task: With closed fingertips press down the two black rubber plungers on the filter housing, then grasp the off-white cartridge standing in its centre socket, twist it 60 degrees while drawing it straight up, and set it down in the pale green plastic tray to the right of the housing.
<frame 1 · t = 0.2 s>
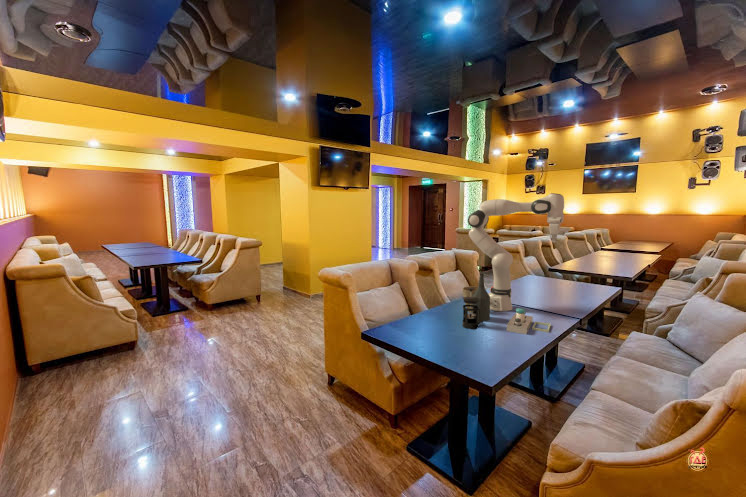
hand: (554, 241, 201), 47 cm above the table, fingers open, 8 cm apart
filter housing: (520, 328, 184), on the table
plunger far: (522, 314, 190), point 6 cm above the table, slide at 0.0 cm
tray: (541, 330, 182), on the table
bottle: (480, 320, 200), on the table
cartridge: (520, 326, 184), point 1 cm above the table, touching filter housing
plant pot: (473, 312, 217), on the table
french press: (471, 326, 190), on the table
plunger near: (517, 322, 177), point 6 cm above the table, slide at 0.0 cm
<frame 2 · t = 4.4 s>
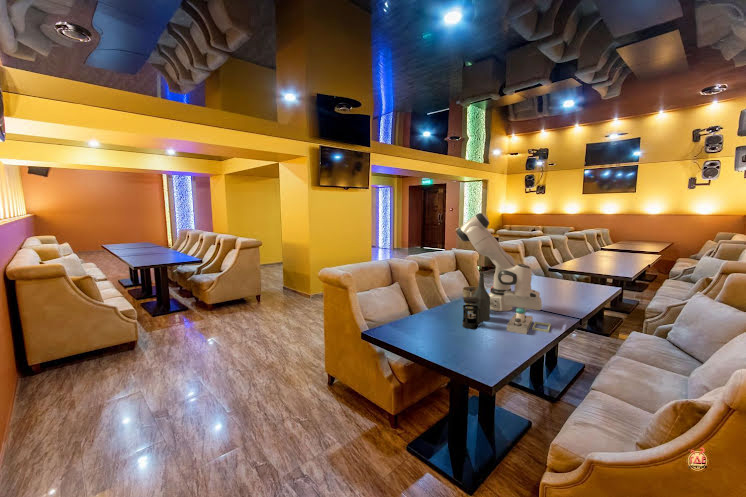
hand: (522, 314, 190), 6 cm above the table, fingers closed, pressing on plunger far
plunger far: (522, 317, 190), point 4 cm above the table, slide at 1.9 cm, touching gripper
everything else where it was.
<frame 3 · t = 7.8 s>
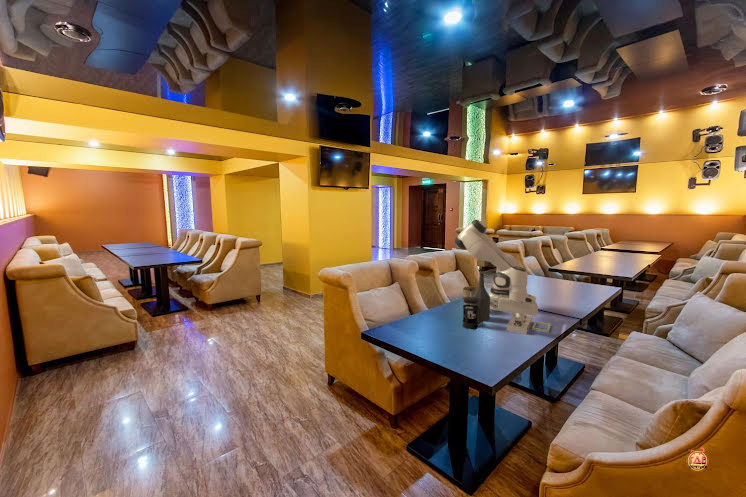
hand: (517, 320, 177), 7 cm above the table, fingers closed, pressing on plunger near
plunger far: (522, 318, 190), point 4 cm above the table, slide at 2.1 cm
plunger near: (517, 324, 178), point 5 cm above the table, slide at 1.0 cm, touching gripper
everything else where it was.
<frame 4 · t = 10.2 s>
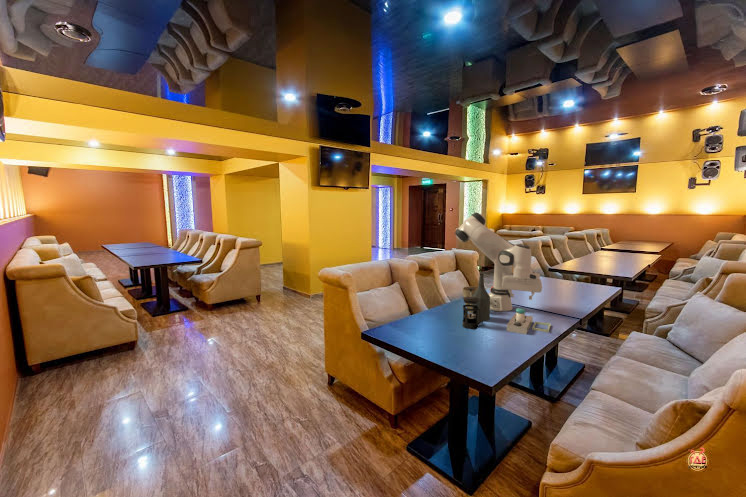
hand: (521, 298, 179), 19 cm above the table, fingers open, 8 cm apart
plunger near: (517, 325, 178), point 4 cm above the table, slide at 2.1 cm
everything else where it was.
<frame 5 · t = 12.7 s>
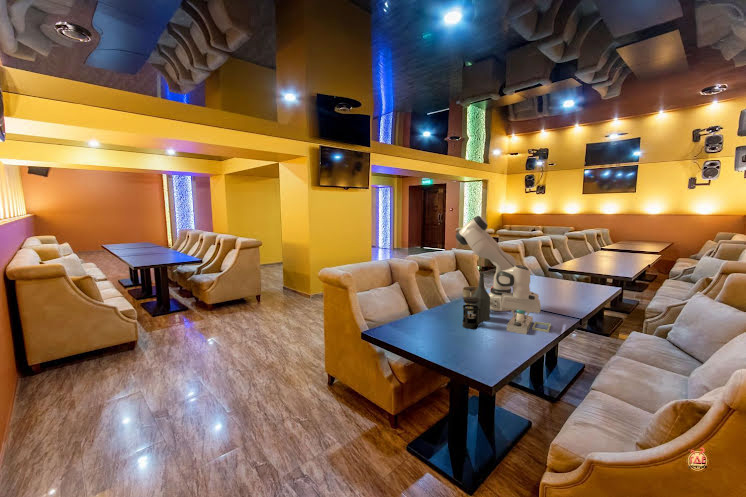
hand: (520, 317, 184), 7 cm above the table, fingers closed on cartridge, 4 cm apart
cartridge: (520, 326, 184), point 2 cm above the table, touching filter housing, gripper
everything else where it was.
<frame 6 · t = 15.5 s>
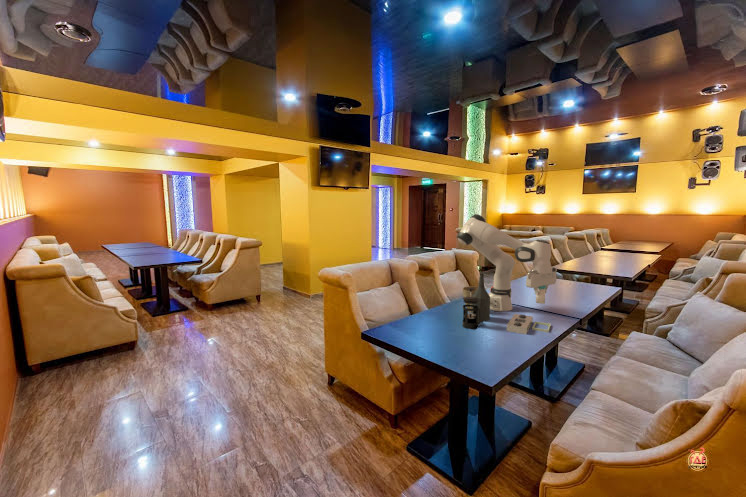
hand: (540, 293, 179), 21 cm above the table, fingers closed on cartridge, 4 cm apart
cartridge: (540, 302, 180), point 16 cm above the table, touching gripper
everything else where it was.
when the fingers open (7 cm above the table, at t = 18.6 s): cartridge drops 1 cm, resting on tray.
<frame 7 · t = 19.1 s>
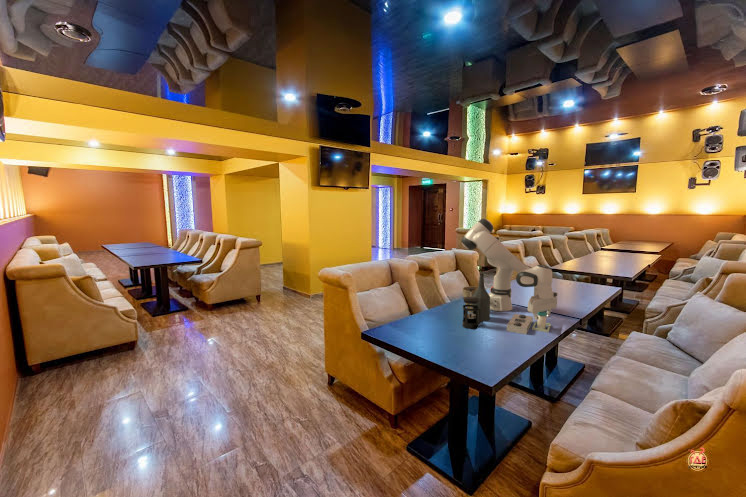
hand: (541, 318, 181), 7 cm above the table, fingers open, 8 cm apart
cartridge: (541, 329, 182), point 1 cm above the table, touching tray
everything else where it was.
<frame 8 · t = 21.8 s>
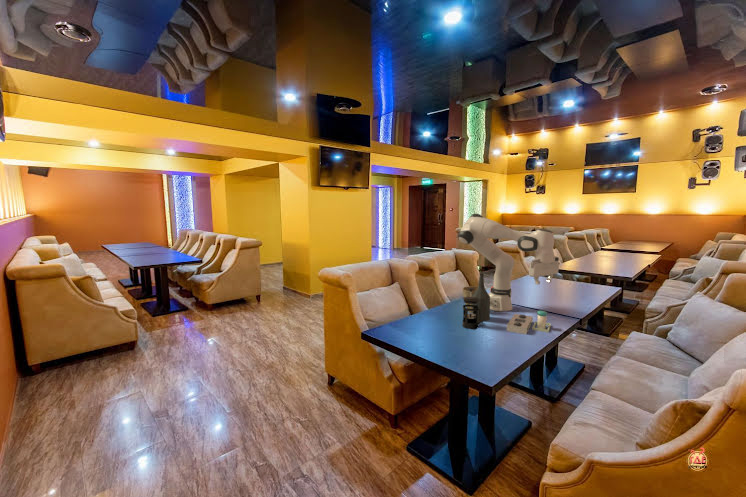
hand: (543, 283, 179), 27 cm above the table, fingers open, 8 cm apart
nothing on the table moved.
at the end: cartridge inside the target area on the tray (0.0 cm from its centre), point 0.6 cm above the tray's base; plunger far slide at 2.1 cm; plunger near slide at 2.1 cm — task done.
